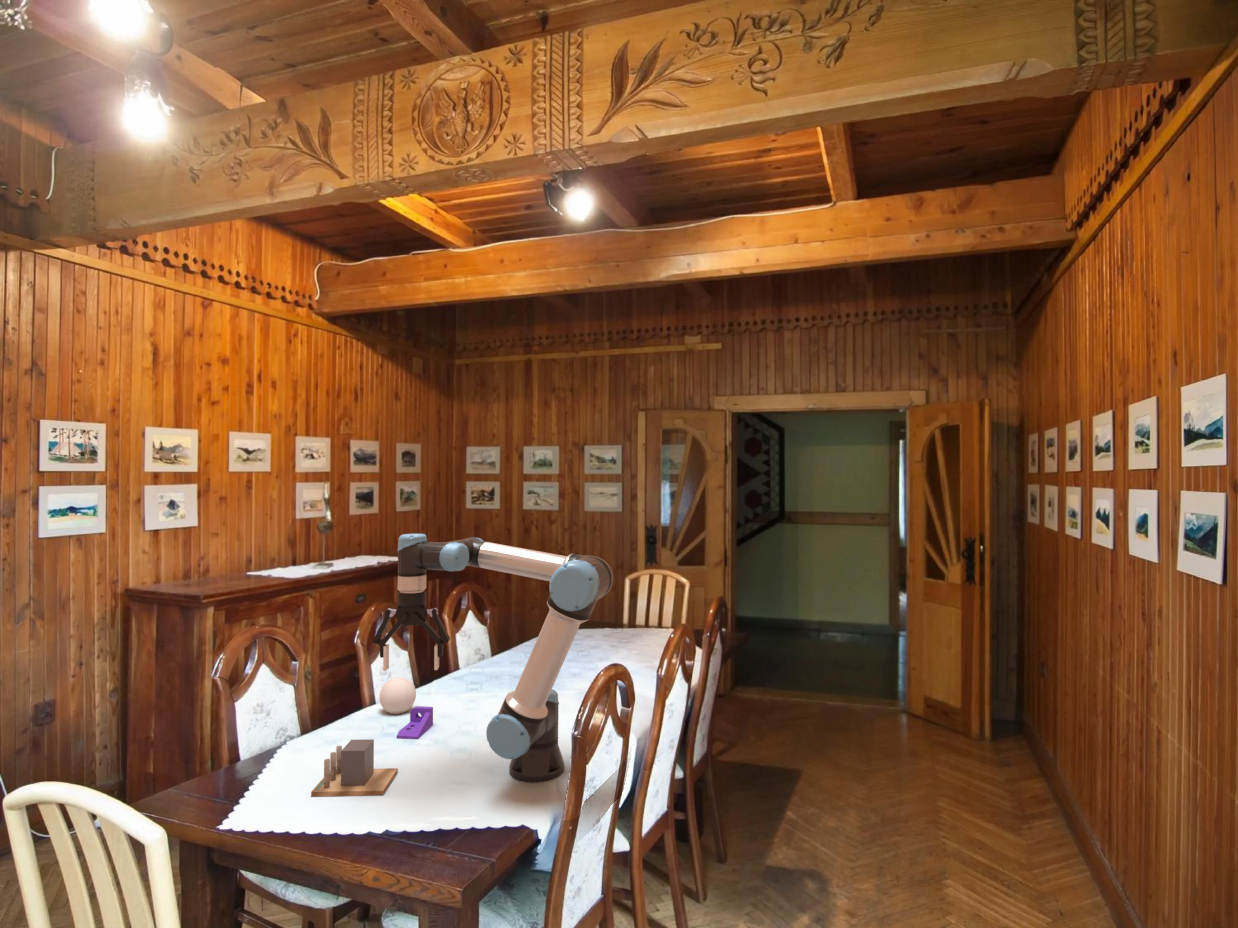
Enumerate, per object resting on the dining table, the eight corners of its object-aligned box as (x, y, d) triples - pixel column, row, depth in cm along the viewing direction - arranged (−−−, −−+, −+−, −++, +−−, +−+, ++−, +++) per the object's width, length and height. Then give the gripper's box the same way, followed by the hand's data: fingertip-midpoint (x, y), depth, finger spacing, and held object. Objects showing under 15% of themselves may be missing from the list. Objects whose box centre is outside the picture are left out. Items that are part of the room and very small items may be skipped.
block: (373, 772, 193) (373, 739, 194) (364, 785, 185) (364, 750, 186) (350, 773, 193) (351, 739, 193) (340, 785, 185) (340, 750, 185)
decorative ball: (415, 706, 253) (415, 672, 254) (416, 716, 242) (416, 681, 242) (379, 709, 250) (379, 674, 250) (379, 720, 238) (379, 684, 239)
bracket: (412, 727, 233) (412, 705, 233) (432, 728, 232) (433, 706, 232) (396, 740, 221) (396, 718, 221) (417, 741, 220) (417, 719, 220)
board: (397, 772, 197) (397, 742, 197) (383, 795, 183) (383, 762, 183) (330, 773, 196) (331, 743, 196) (311, 796, 182) (311, 763, 182)
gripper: (460, 588, 200) (460, 664, 200) (369, 588, 199) (369, 665, 198) (455, 592, 192) (455, 672, 192) (361, 593, 191) (360, 673, 191)
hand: (411, 669), depth 195 cm, fingers open, 13 cm apart
